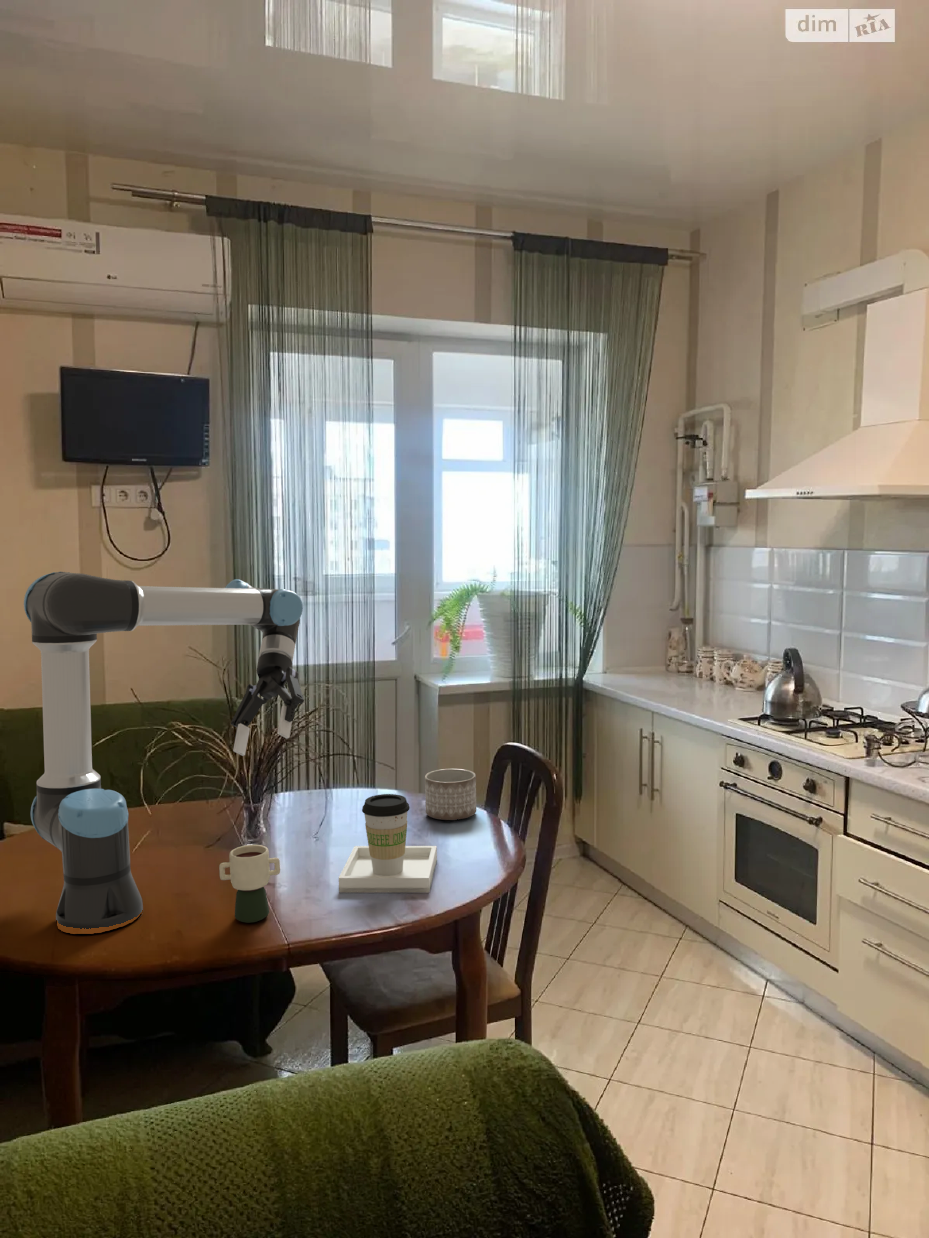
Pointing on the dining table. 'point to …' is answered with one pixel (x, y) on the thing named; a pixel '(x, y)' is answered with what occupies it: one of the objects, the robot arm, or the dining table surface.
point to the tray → (410, 880)
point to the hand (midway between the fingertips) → (260, 744)
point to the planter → (450, 794)
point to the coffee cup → (386, 832)
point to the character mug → (250, 880)
